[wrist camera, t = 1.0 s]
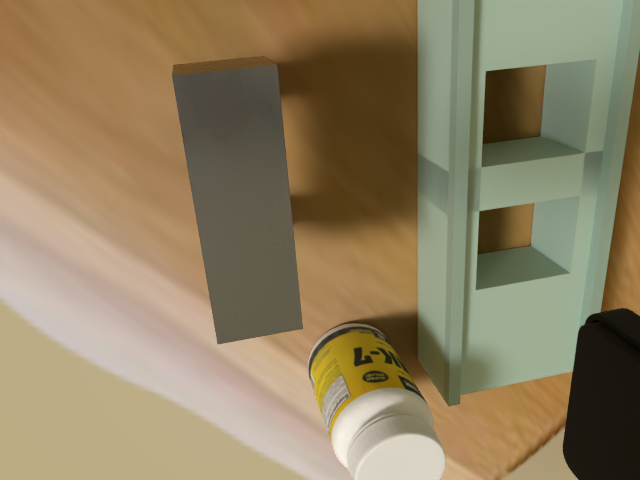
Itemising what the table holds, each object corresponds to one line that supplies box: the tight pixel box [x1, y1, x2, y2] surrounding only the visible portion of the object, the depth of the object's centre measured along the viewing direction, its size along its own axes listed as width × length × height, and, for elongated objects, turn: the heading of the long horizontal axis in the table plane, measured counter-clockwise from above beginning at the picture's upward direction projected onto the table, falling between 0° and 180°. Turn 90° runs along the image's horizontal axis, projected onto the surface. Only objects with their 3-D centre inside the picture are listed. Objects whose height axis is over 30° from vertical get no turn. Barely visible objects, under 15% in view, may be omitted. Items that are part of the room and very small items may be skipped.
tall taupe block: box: [172, 56, 303, 344], centre depth 22 cm, size 9×3×8 cm, turn 4°
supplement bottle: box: [308, 323, 446, 480], centre depth 27 cm, size 5×5×8 cm
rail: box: [418, 0, 640, 406], centre depth 26 cm, size 22×8×4 cm, turn 4°
